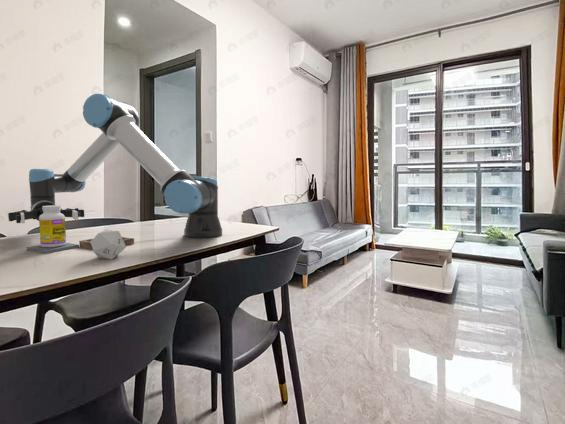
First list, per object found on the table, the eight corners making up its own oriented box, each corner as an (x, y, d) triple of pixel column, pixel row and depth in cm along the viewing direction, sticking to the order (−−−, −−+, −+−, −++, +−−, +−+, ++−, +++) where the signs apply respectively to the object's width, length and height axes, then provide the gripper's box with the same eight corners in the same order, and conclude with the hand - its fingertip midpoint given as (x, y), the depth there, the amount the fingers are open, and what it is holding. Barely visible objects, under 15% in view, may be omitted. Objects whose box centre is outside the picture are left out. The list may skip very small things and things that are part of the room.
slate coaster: (79, 247, 102) (79, 244, 102) (45, 253, 93) (45, 250, 93) (60, 244, 106) (60, 241, 106) (26, 249, 97) (26, 247, 97)
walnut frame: (134, 243, 108) (133, 238, 108) (103, 250, 97) (102, 244, 97) (111, 240, 112) (111, 235, 112) (79, 246, 102) (79, 240, 102)
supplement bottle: (52, 248, 95) (50, 207, 94) (35, 247, 97) (32, 206, 95) (71, 244, 102) (69, 205, 101) (54, 243, 103) (52, 204, 102)
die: (92, 265, 83) (115, 237, 83) (77, 246, 87) (99, 219, 87) (117, 268, 91) (137, 242, 91) (102, 251, 94) (122, 225, 94)
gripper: (85, 219, 122) (96, 225, 106) (0, 224, 106) (-2, 233, 90) (84, 200, 121) (95, 203, 106) (-2, 202, 105) (-4, 207, 89)
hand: (50, 217), depth 98 cm, fingers open, 13 cm apart
